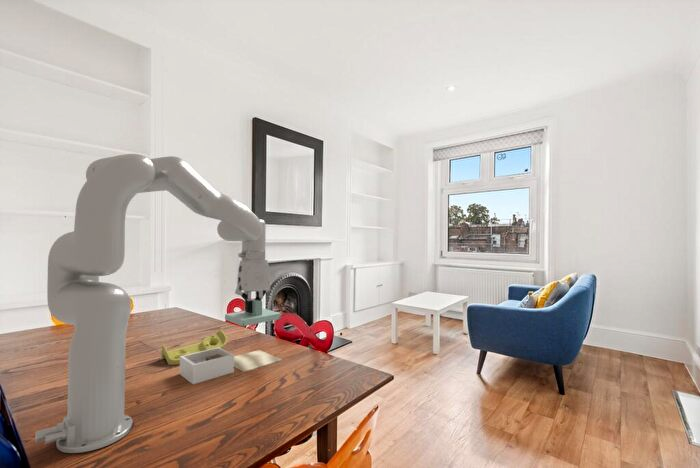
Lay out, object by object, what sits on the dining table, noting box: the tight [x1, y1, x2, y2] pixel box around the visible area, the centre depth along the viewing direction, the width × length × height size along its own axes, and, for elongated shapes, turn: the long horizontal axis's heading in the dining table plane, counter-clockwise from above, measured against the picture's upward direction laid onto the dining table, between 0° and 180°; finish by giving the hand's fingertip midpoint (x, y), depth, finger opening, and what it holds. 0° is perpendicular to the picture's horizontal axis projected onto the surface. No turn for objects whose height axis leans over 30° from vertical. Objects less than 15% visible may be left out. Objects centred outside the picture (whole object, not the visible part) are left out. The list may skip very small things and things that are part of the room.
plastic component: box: [160, 329, 228, 366], centre depth 117 cm, size 20×7×10 cm
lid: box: [224, 297, 282, 327], centre depth 112 cm, size 14×12×6 cm
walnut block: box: [206, 354, 223, 361], centre depth 103 cm, size 4×4×4 cm
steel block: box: [192, 358, 206, 364], centre depth 99 cm, size 4×4×4 cm
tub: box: [179, 347, 235, 385], centre depth 101 cm, size 12×10×6 cm
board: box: [234, 349, 283, 373], centre depth 112 cm, size 14×14×1 cm
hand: (253, 311), depth 112 cm, fingers closed on lid
